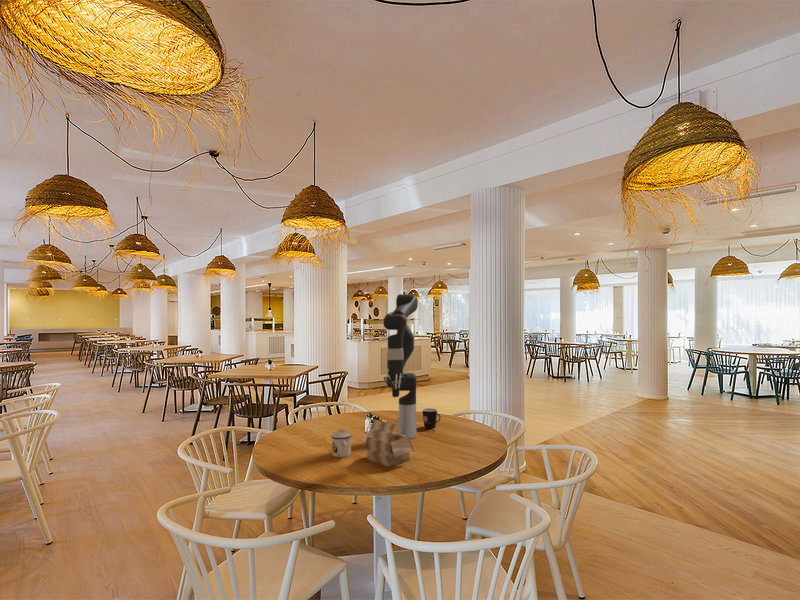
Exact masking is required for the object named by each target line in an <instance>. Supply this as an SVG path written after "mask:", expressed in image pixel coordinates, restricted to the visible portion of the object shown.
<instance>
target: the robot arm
mask: <svg viewBox="0 0 800 600" xmlns="http://www.w3.org/2000/svg"><path fill="white" fill-rule="evenodd" d="M395 301H396V302H395V305H396V308H395V309H394V310H393V311H391V312H389V313H387V314H386V315H385V316H384V318H383V322H382V323H383V324H382V325H383V327H384V328H385V329H386V330H388V331H396V333H395V334H391V335H388V336H387V352H386V361H387V363H386V364H387V365H386V368H387V375H385V376H384V377H383V380H384V382H385V383H386V385H387V387H388V389H389V388H390V389H391V396H392V397H393V398H398V416H397V433H398V434H402V435H405V436H409V438H410V439H414V438H416V437H417V382H418V381H417V380H418V379H417V376H416V373H414V372H404V368H405V365H406V363H407V361H408V360H409V358H410V357H411V355H412V354H413V352H414V349H415V335H414V334H413V333H414V332H412V330H411V329H410V327H409V326H408V324H407V323H408V320H407V318H408V317H410V316H411V315H412V314H414V313H415V312H416V311H417V309H418V306H419V305H418V304H419V302H418V301H419V299H418V297H417V295H415V294H410V293H409V294H403V293H401V294H400V293H399V294H398V295H397V296H396V300H395ZM400 391H401V392H404V391H409V392H408V393H407V394H405V395H402V396H400Z"/></svg>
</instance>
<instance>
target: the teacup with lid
mask: <svg viewBox="0 0 800 600" xmlns="http://www.w3.org/2000/svg"><path fill="white" fill-rule="evenodd" d="M351 439H352V434H351V433H350V432H349V431H346V430H345V429H344V428H339V429H338V430H337V431H336V432H332V434H331V455H332V456H333V457H335V458H346V457H348V456H349V457H350V456H351V454H352V440H351ZM345 456H346V457H345Z"/></svg>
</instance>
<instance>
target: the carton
mask: <svg viewBox="0 0 800 600" xmlns="http://www.w3.org/2000/svg"><path fill="white" fill-rule="evenodd" d="M363 447H364V448H366V451H367V456H366V458H367V461H369V462H372V463H376V464H378V465H381V466H384V467H386V468H391V467H395V466H397V465H401V464H403V463H406V462H409V461H410V453H412V452H413V453H414V452H415V449H414V446H413V444H412V441H411V438H409V436H405V435H402V434H398V432H394V431H392V434H391V436H390V438H389V441H388V443H387V442H384V441H381V440H377V439H374V438H370V437H367V436H366V440H365V442H364V446H363Z"/></svg>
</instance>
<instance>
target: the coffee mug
mask: <svg viewBox="0 0 800 600" xmlns="http://www.w3.org/2000/svg"><path fill="white" fill-rule="evenodd" d="M421 410H422V412H421V413H422V418H423V419H422V421H423V427H425V428H424V429H426V428H428V429H427V430H433V429H432V428H434V429H436V428H435V427H437V423H438V422H440V421H441V415H440V414H439V413H438V409H437V408H432V407H429V408H428V407H427V408H423V409H421ZM437 415H438V416H437ZM437 417H439V419H438V420H437Z"/></svg>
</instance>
